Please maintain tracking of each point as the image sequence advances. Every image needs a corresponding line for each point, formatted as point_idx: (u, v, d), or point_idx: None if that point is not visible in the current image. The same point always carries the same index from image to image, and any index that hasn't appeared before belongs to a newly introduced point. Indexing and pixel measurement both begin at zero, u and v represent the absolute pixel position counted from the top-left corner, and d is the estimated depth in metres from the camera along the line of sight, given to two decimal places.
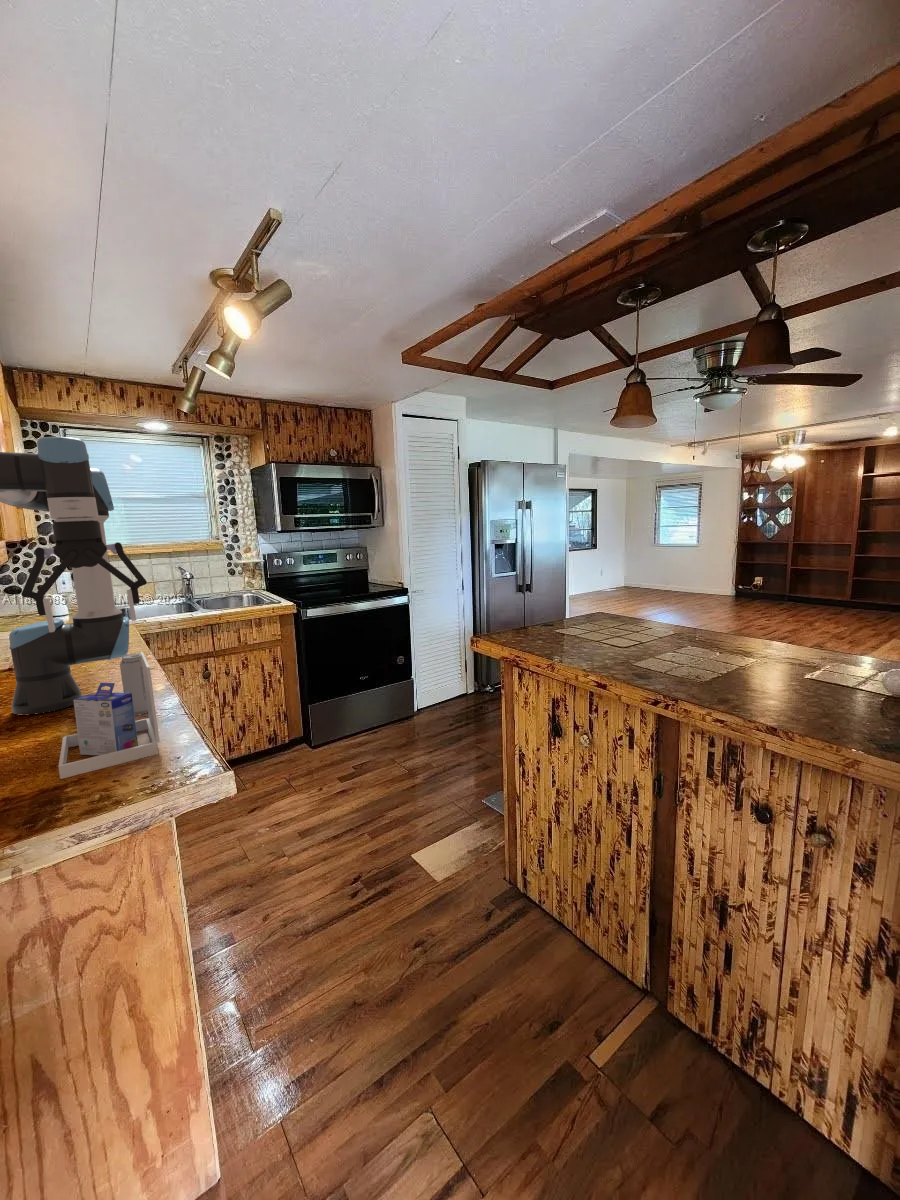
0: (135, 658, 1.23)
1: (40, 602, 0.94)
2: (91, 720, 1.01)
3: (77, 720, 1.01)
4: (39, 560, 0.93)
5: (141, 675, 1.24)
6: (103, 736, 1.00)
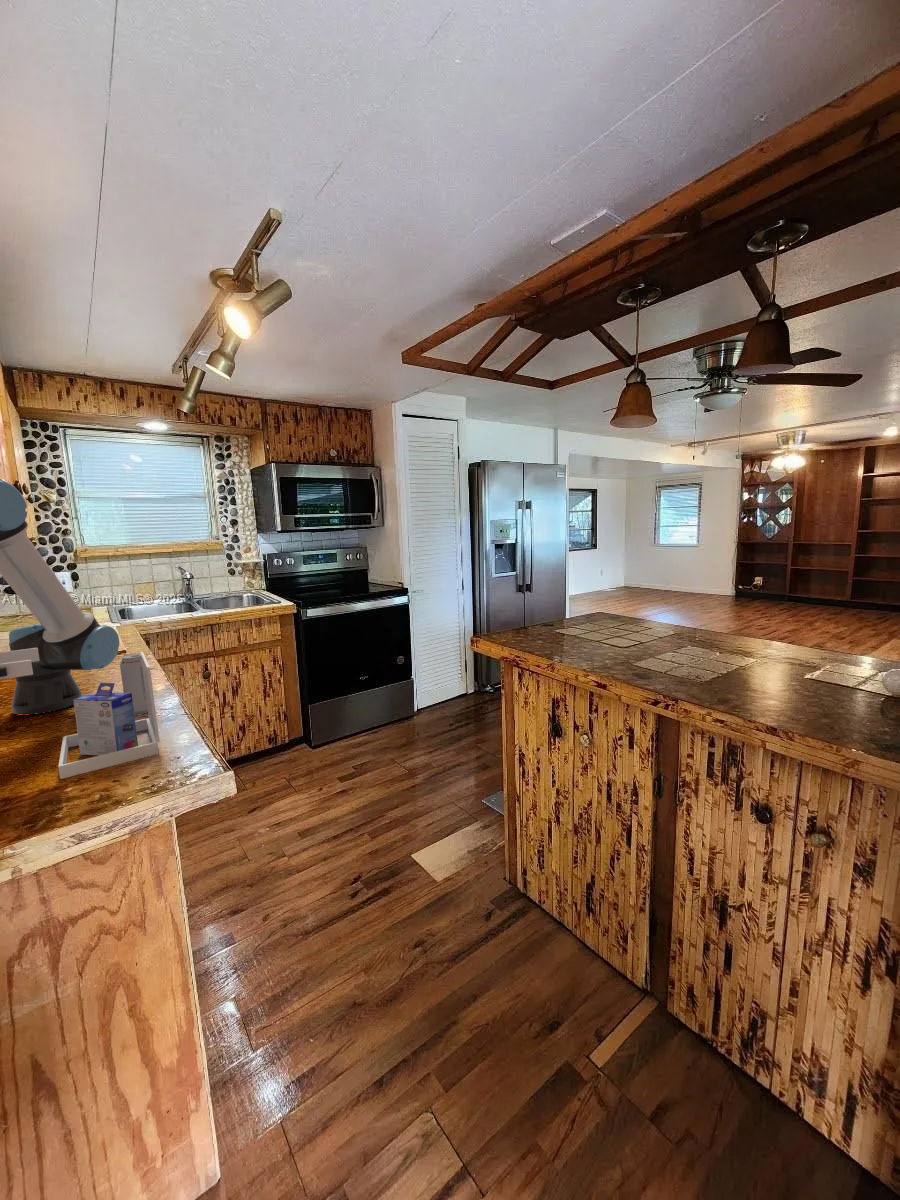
0: (135, 658, 1.23)
1: None
2: (91, 720, 1.01)
3: (77, 720, 1.01)
4: None
5: (141, 675, 1.24)
6: (103, 736, 1.00)
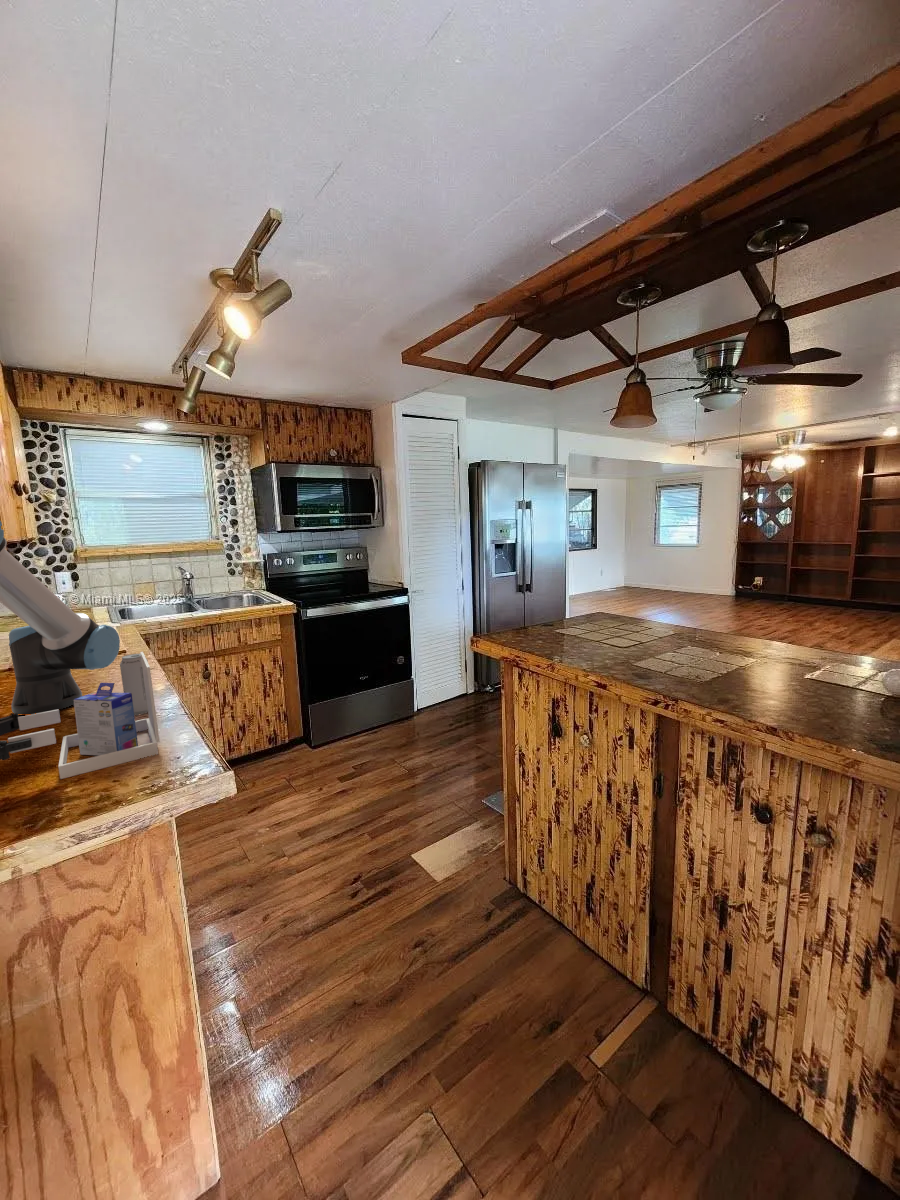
0: (135, 658, 1.23)
1: None
2: (91, 720, 1.01)
3: (77, 720, 1.01)
4: None
5: (141, 675, 1.24)
6: (103, 736, 1.00)
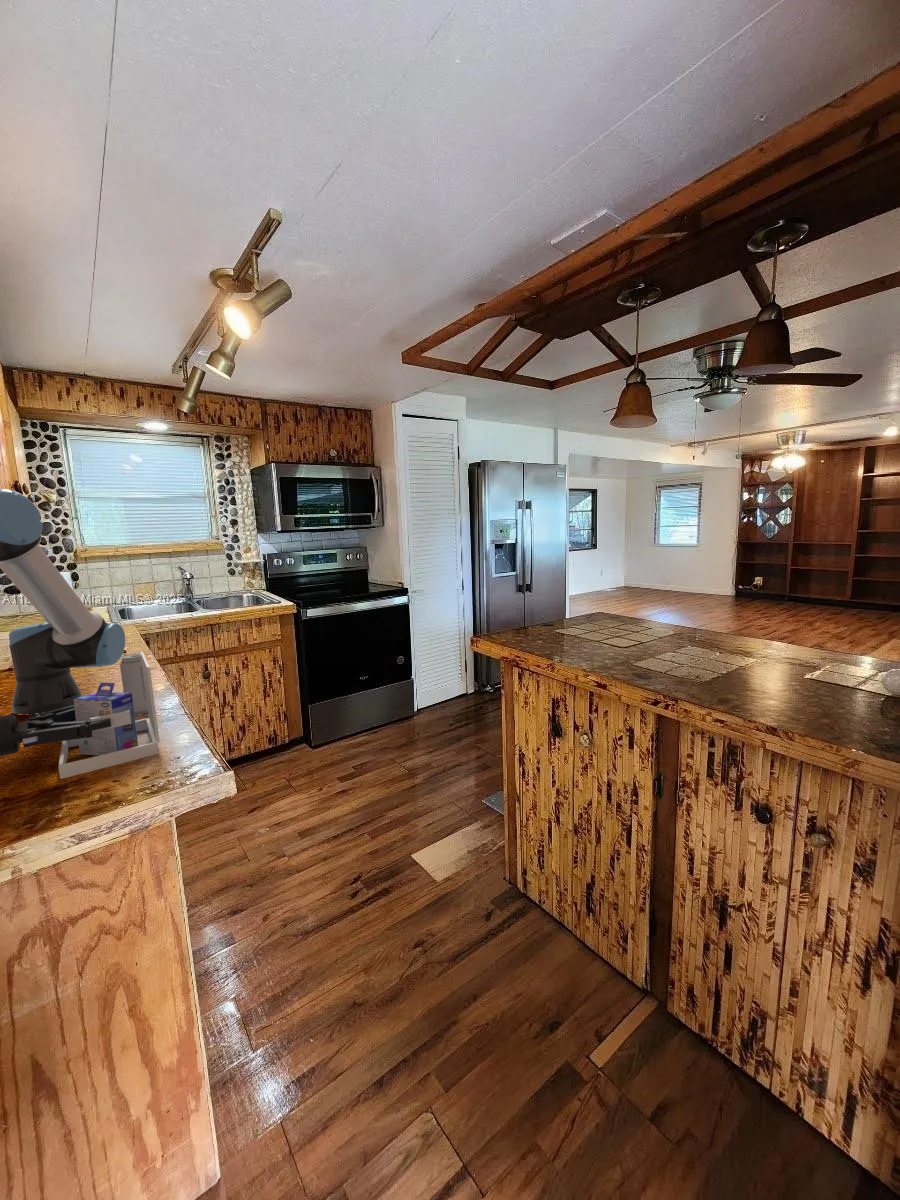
0: (135, 658, 1.23)
1: None
2: None
3: (77, 720, 1.01)
4: None
5: (141, 675, 1.24)
6: (103, 736, 1.00)
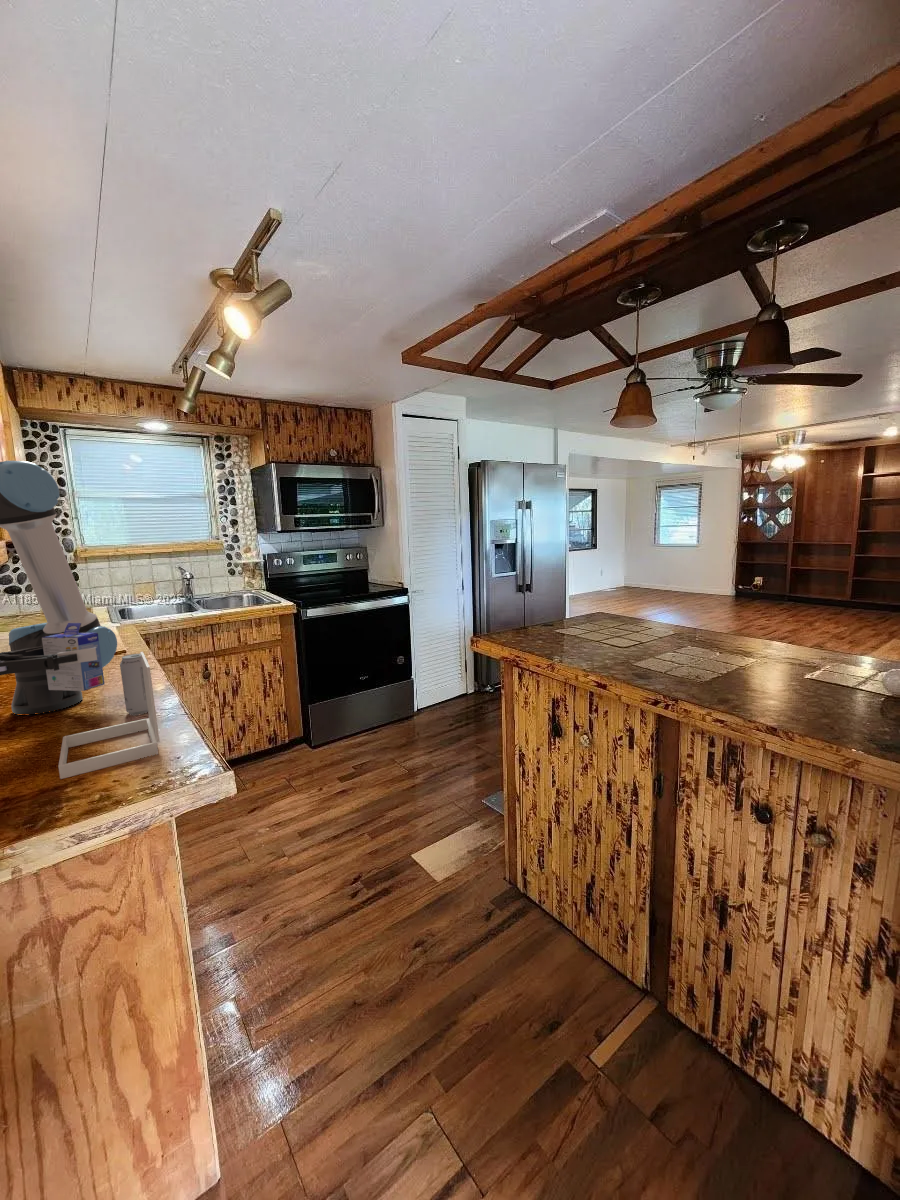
0: (135, 658, 1.23)
1: None
2: None
3: None
4: None
5: (141, 675, 1.24)
6: (70, 672, 1.07)
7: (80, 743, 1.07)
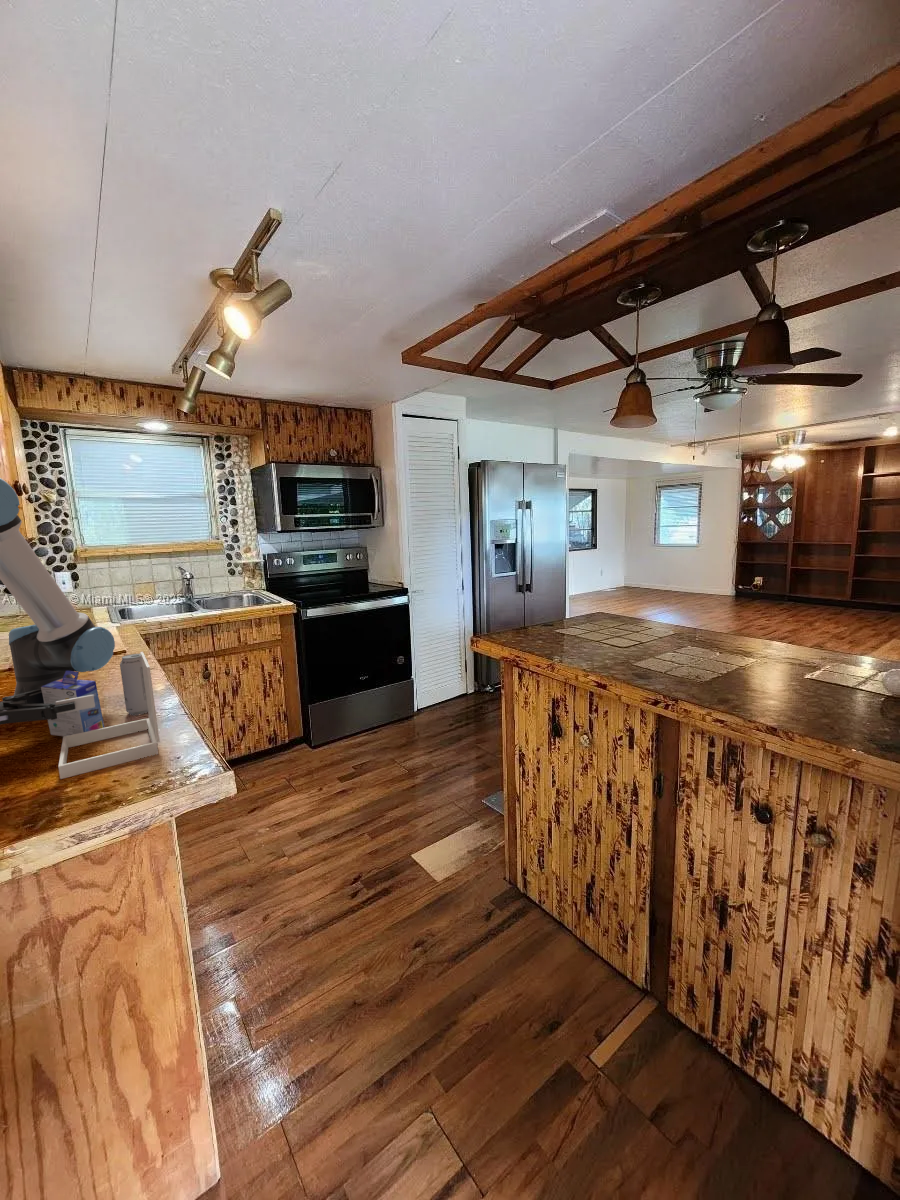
0: (135, 658, 1.23)
1: None
2: None
3: None
4: None
5: (141, 675, 1.24)
6: (71, 720, 1.10)
7: (80, 743, 1.07)
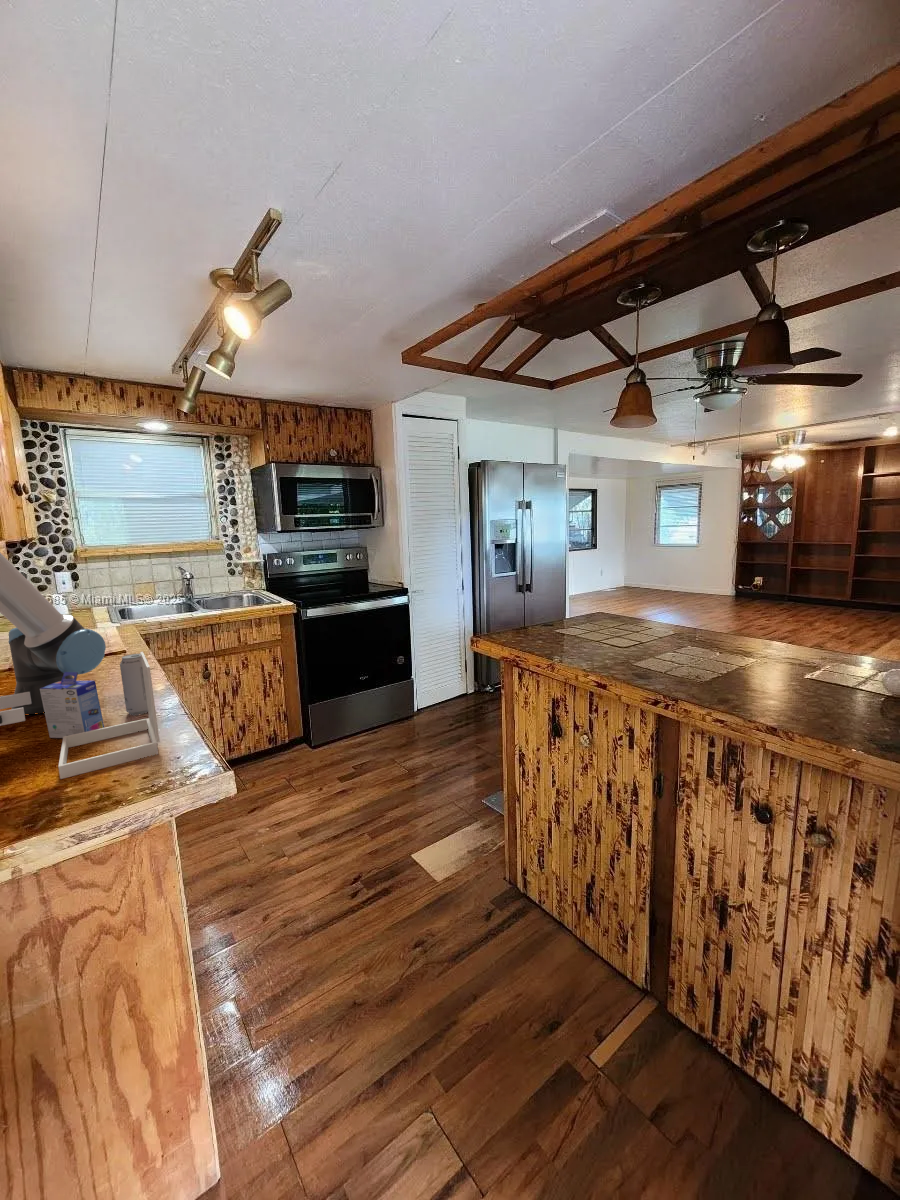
0: (135, 658, 1.23)
1: None
2: (58, 706, 1.10)
3: (44, 707, 1.10)
4: None
5: (141, 675, 1.24)
6: (71, 721, 1.10)
7: (80, 743, 1.07)
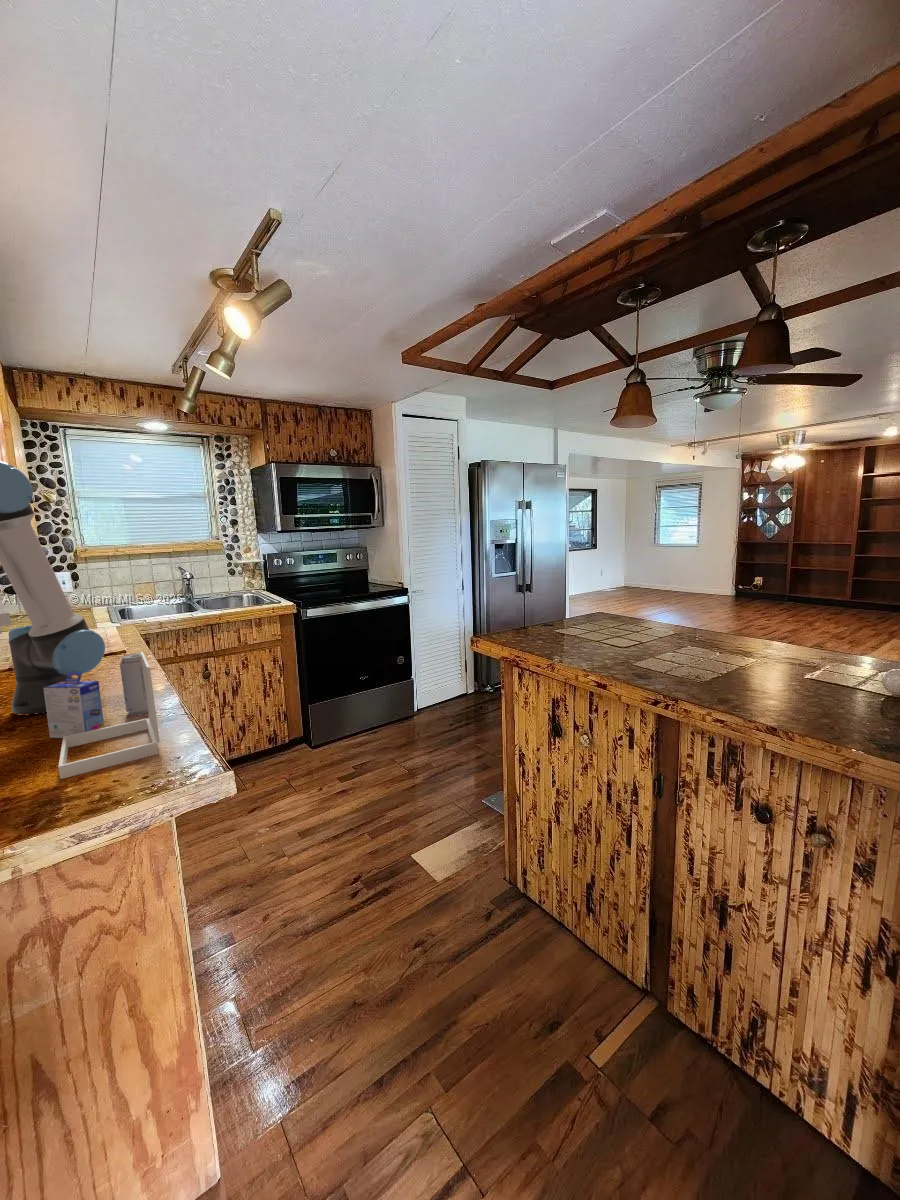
0: (135, 658, 1.23)
1: None
2: (61, 706, 1.10)
3: (47, 706, 1.11)
4: None
5: (141, 675, 1.24)
6: (72, 720, 1.10)
7: (80, 743, 1.07)
